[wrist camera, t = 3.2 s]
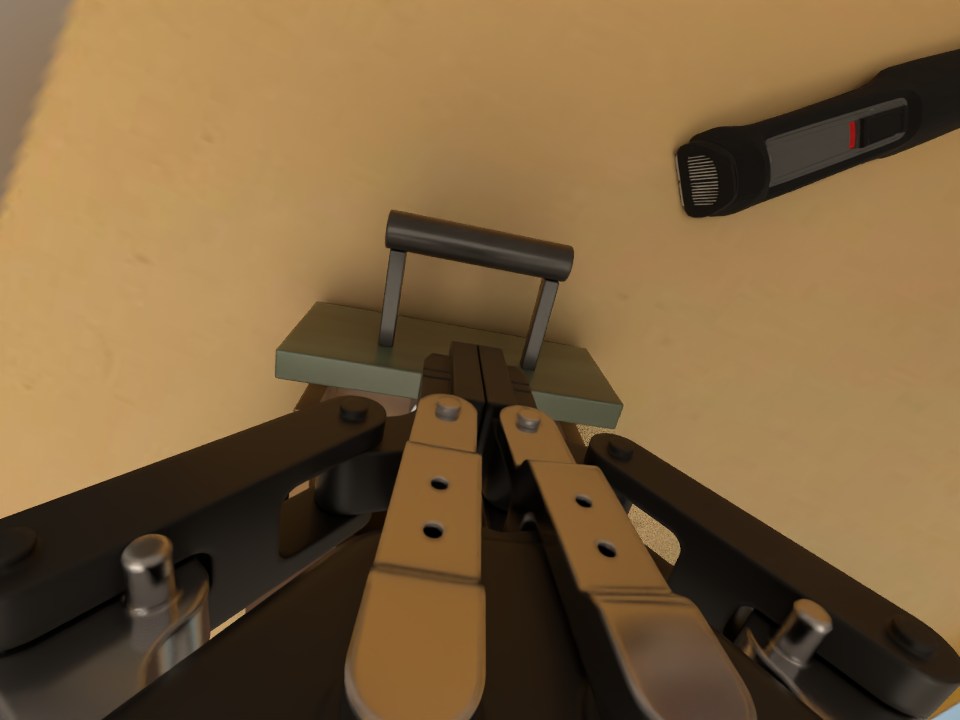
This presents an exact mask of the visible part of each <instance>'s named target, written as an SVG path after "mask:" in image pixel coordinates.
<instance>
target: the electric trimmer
mask: <svg viewBox="0 0 960 720" xmlns="http://www.w3.org/2000/svg"><path fill="white" fill-rule="evenodd" d="M958 128H960V49H958V50H954V51H949V52H945V53H941V54H937V55H933V56H929V57H925V58H921V59H917V60H913V61H910V62H906V63H903V64H899V65H896V66H892V67H889V68H887V69H884V70H882V71H881V72H880V73H879V74H878V75H877V76H876V77H875V78H874V79H873V80H872V81H871V82H870V83H868V84H866V85H865V86H863V87H861V88H859V89H856V90H853V91H850V92H848V93H845V94H842V95H839V96H836V97H833V98H830V99H827V100H824V101H822V102H819V103H816V104H813V105H810V106H807V107H804V108H801V109H798V110H795V111H793V112H790V113H787V114H783V115H780V116H777V117H774V118H770V119H767V120H764V121H761V122H757V123H754V124H750V125H745V126H724V127H717V128H713V129H710V130H708V131H705V132H702V133H700V134H697V135H695V136H694V137H693V138H692V139H691V140H690V142H689V143H688V144H686V145H683V146H681V147H680V148H679V149H678V151H677V154H675V155H677V156H676V157H675V158H676V159H675V160H676V162H675V163H677V164H676V166H677V169H676V170H678V171H677V173H678V174H677V175H678V178H679V179H678V180H679V181H680V183H679V186H680V187H679V188H680V190H679V191H680V194H681V195H680V196H681V197H682V198H680V199H682V201H681V202H682V206H684V208H685V211H686V213H687V214H688V215H689V216H691V217H694V218H698V217H706V216H725V215H730V214H734V213H737V212H739V211H742V210H744V209H746V208H749V207H751V206H753V205H756V204H759V203H761V202H764V201H767V200H769V199H772V198H775V197H778V196H780V195H783V194H786V193H788V192H791V191H794V190H796V189H799V188H801V187H804V186H806V185H809V184H811V183H814V182H816V181H819V180H821V179H824V178H826V177H829V176H831V175H834V174H837V173H839V172H842V171H844V170H847V169H849V168H852V167H854V166H857V165H859V164H862V163H865V162H868V161H871V160H874V159H877V158H885V157H888V156H891V155H894V154H897V153H899V152H902V151H904V150H907V149H909V148H912V147H914V146H917V145H920V144H922V143H924V142H927V141H929V140H932V139H934V138H937V137H939V136H941V135H944V134H946V133H949V132H951V131H953V130H956V129H958Z"/></svg>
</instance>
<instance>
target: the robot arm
mask: <svg viewBox="0 0 960 720" xmlns="http://www.w3.org/2000/svg"><path fill="white" fill-rule="evenodd" d="M314 477H316V480H315V485H314V486H312V487H310V488H308V489H306V490H304V491H302V492H301V493H299V494H297V495H295V496H293V497H291V498H289V499H287V500H285V498H286V497H287V496H288V494H289V493H290V492H291V491H292V490H293V489H294V488H296V487H297V486H299V485H301V484H303V483H305V482H306V481H308V480H310V479H312V478H314ZM284 500H285V501H284ZM632 503H633V504H634V505H636V506H637V507H638V508H640V509H641V510H643V511H644V512H645V513H647V514H648V515H649V516H651V517H652V518H654V519H655V520H656V521H658V522H659V523H661V524H662V525H663V526H665V527H666V528H668V529H669V530H670V531H671V532H673V533H674V535H675V536H676V537H677V539H678V541H679V543H680V548H681V551H680V555H679V557H678V559H677V561H676V563H675V565H674V566H673V565H671V564H670V563H668V562H667V561H666V560H664V559H663V558H662V557H661V556H659V555H658V554H657V553H655V552H654V551H653V550H651V549H650V548H649V547H648V546H646V545H645V544H644V543H643V542H642V540H641V538H640V536H639V535H638V533H637V531H636V530H635V528H634V526H633V524H632V523H631V521H630V519H629V517H628V516H627V515H628V513H629V511H630V508H631V506H632ZM387 510H388V512H387V515H386V519H385V523H384V527H383V529H378V530H374V531H371V532H367V533H364V534H362V535H359V536H357V537H354V538H352V539H350V540H348V541H346V542H344V543H343V544H341V545H339V546H337V545H338V544H340V543H341V542H342V541H344V540H345V539H347V538H348V537H350V536H351V535H353V534H354V533H356V532H357V531H359V530H360V529H362V528H363V527H364V526H365V525H366V524H367V523H368V522H369V521H370V519H371V516H372V512H379V511H387ZM335 546H337V547H336V548H334V547H335ZM332 548H334V549H333V550H332V551H330V552H329V553H327V554H326V555H325V556H323V557H322V558H321V559H319V560H318V561H317V562H315V563H314V564H313V565H311V566H310V567H308V568H307V569H306V570H304V571H303V572H302V573H300V574H299V575H298V576H296V577H295V578H293V579H292V580H291V581H289V582H288V583H287V584H285V585H284V586H283V587H281V588H280V589H278V590H277V591H276V592H274V593H273V594H272V595H270V596H269V597H268V598H266V599H265V600H263V601H262V602H261V603H259V604H258V605H257V606H255V607H254V608H253V609H251V610H250V611H248V612H247V613H246V614H244V615H243V616H242V617H240V618H239V619H238V620H236V621H235V622H233V623H232V624H231V625H229V626H228V627H227V628H225V629H224V630H223V631H221V632H220V633H218V634H217V635H216V636H214V637H213V638H212V639H210V640H209V638H210V631H212V630H213V629H215V628H216V627H218V626H219V625H221V624H222V623H224V622H225V621H227V620H228V619H229V618H231V617H232V616H234V615H235V614H237V613H238V612H240V611H241V610H243V609H244V608H246V607H247V606H249V605H250V604H251V603H253V602H254V601H256V600H257V599H259V598H260V597H262V596H263V595H265V594H266V593H268V592H269V591H271V590H272V589H274V588H275V587H276V586H278V585H279V584H281V583H282V582H284V581H285V580H287V579H288V578H290V577H291V576H293V575H294V574H296V573H297V572H298V571H300V570H301V569H303V568H304V567H306V566H307V565H309V564H310V563H312V562H313V561H315V560H316V559H318V558H319V557H320V556H322V555H323V554H325V553H326V552H328V551H329V550H331V549H332ZM750 607H752V608H754V609H753V611H752V609H751V608H750ZM959 686H960V657H959V656H958V654H957V653H956V652H955V650H954V649H953V648H952V647H951V646H950V645H949V644H948V643H947V642H946V641H945V640H944V639H943V638H942V637H941V636H940V635H939V634H938V633H936V632H935V631H934V630H933V629H932V628H930V627H929V626H927V625H926V624H925V623H923V622H922V621H920V620H919V619H917V618H916V617H914V616H913V615H911V614H909V613H908V612H906V611H905V610H903V609H901V608H900V607H898V606H897V605H895V604H893V603H892V602H890V601H889V600H887V599H885V598H884V597H882V596H881V595H879V594H877V593H876V592H874V591H872V590H871V589H869V588H868V587H866V586H864V585H863V584H861V583H860V582H858V581H856V580H855V579H853V578H852V577H850V576H848V575H847V574H845V573H844V572H842V571H840V570H839V569H837V568H835V567H834V566H832V565H831V564H829V563H827V562H826V561H824V560H823V559H821V558H819V557H818V556H816V555H815V554H813V553H811V552H810V551H808V550H807V549H805V548H803V547H802V546H800V545H798V544H797V543H795V542H794V541H792V540H790V539H789V538H787V537H786V536H784V535H782V534H781V533H779V532H778V531H776V530H774V529H773V528H771V527H770V526H768V525H766V524H765V523H763V522H762V521H760V520H758V519H757V518H755V517H753V516H752V515H750V514H749V513H747V512H745V511H744V510H742V509H741V508H739V507H737V506H736V505H734V504H733V503H731V502H729V501H728V500H726V499H725V498H723V497H721V496H720V495H718V494H716V493H715V492H713V491H712V490H710V489H708V488H707V487H705V486H704V485H702V484H700V483H699V482H697V481H696V480H694V479H692V478H691V477H689V476H688V475H686V474H684V473H683V472H681V471H680V470H678V469H676V468H675V467H673V466H671V465H670V464H668V463H667V462H665V461H663V460H662V459H660V458H659V457H657V456H655V455H654V454H652V453H651V452H649V451H647V450H646V449H644V448H643V447H641V446H639V445H638V444H636V443H634V442H633V441H631V440H629V439H627V438H624V437H622V436H618V435H615V434H609V433H600V434H596V435H594V436H593V437H592V438H591V440H590V443H589V446H588V447H586V446H583V445H580V444H577V443H574V442H571V441H568V440H565V439H563V437H562V435H561V433H560V431H559V429H558V427H557V425H556V423H555V422H554V420H553V419H552V418H551V417H550V416H548V415H547V414H545V413H544V412H542V411H540V410H538V409H537V406H536V403H535V400H534V397H533V394H532V391H531V388H530V386H529V382H528V380H527V377H526V375H525V374H524V373H523V372H522V371H521V370H520V369H519V368H518V367H516V366H510V365H506V361H505V357H504V354H503V350H502V348H497V347H491V346H485V345H479V344H478V345H476V344H473V343H467V342H461V341H455V340H452V341H451V345H450V349H449V354H448V355H442V354H436V353H432V354H430V355H429V356H428V357H427V358H425V359H424V364H423V370H422V375H421V381H420V387H419V392H418V398H417V404H416V410H414V411H413V412H410V413H408V414H405V415H400V416H388V417H386V410H385V409H384V407H383V406H382V405H381V404H379V403H378V402H376V401H374V400H372V399H369V398H366V397H361V396H353V395H347V396H339V397H334V398H331V399H328V400H326V401H323V402H320V403H318V404H315V405H312V406H309V407H307V408H304V409H301V410H298V411H296V412H293V413H290V414H287V415H285V416H282V417H279V418H276V419H274V420H271V421H268V422H265V423H263V424H260V425H257V426H254V427H252V428H249V429H246V430H243V431H241V432H238V433H235V434H232V435H230V436H227V437H224V438H221V439H219V440H216V441H213V442H211V443H208V444H205V445H202V446H200V447H197V448H194V449H191V450H189V451H186V452H183V453H180V454H178V455H175V456H172V457H169V458H167V459H164V460H161V461H158V462H156V463H153V464H150V465H147V466H145V467H142V468H139V469H136V470H134V471H131V472H128V473H125V474H123V475H120V476H117V477H114V478H112V479H109V480H106V481H103V482H101V483H98V484H95V485H93V486H90V487H87V488H84V489H82V490H79V491H76V492H73V493H71V494H68V495H65V496H62V497H60V498H57V499H54V500H51V501H49V502H46V503H43V504H40V505H38V506H35V507H32V508H29V509H27V510H24V511H21V512H18V513H16V514H13V515H10V516H7V517H5V518H2V519H0V720H927V719H928V718H929V717H930V716H931V714H933V713H934V712H935V711H936V710H937V709H938V708H939V707H940V706H941V704H942V703H943V702H944V701H945V700H946V699H947V698H948V697H949V696H950V695H951V694H952V693H953V692H954V691H955V690H956V689H957V688H958V687H959Z"/></svg>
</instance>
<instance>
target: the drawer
mask: <svg viewBox="0 0 960 720" xmlns="http://www.w3.org/2000/svg"><path fill="white" fill-rule="evenodd" d="M385 246H386V248H390V249H391V250H390V255H389V263H388V270H387V278H386V286H385V293H384V301H383V309H382V313H380V312H374V311H368V310H363V309H357V308H351V307H346V306H340V305H334V304H328V303H323V302H316V303H315V304H314V305H313V307H312V308H311V309H310V310H309V311H308V313H307V314H306V315H305V316H304V317H303V318H302V320H301V321H300V322H299V323H298V324H297V326H296V327H295V328H294V329H293V330H292V332H291V333H290V334H289V335H288V336H287V338H286V339H285V340H284V341H283V342H282V343H281V345H280V346H279V347H278V348H277V350H276V360H275V378H279V379H285V380H292V381H298V382H305V383H309V385H308V386H307V388H306V390H305V391H304V393H303V395H302V397H301V398H300V400H299V402H298V403H297V405H296V407H295V408H294V412H296V411H298V410H301V409H304V408H307V407H309V406H312V405H315V404H318V403H320V402H323V401H326V400H328V399H331V398H334V397H339V396H347V395H353V396H361V397H366V398H369V399H372V400H374V401H376V402H378V403H379V404H381V405H382V406H383V407H384V409H385V410H386V417H388V416H400V415H405V414H408V413H409V409H410V402H411V399H417V398H418V392H419V387H420V381H421V375H422V370H423V364H424V359H425V358H427V357H428V356H429V355H430V354H432V353H436V354H442V355H448V354H449V349H450V345H451V341H452V340H455V341H461V342H467V343H473V344H476V345H478V344H479V345H485V346H491V347H497V348H502V350H503V354H504V357H505V361H506V365H510V366H516V367H518V368H519V369H520V370H521V371H522V372H523V373H524V374H525V375H526V377H527V380H528V382H529V386H530V388H531V391H532V394H533V397H534V400H535V403H536V406H537V409H538V410H540V411H542V412H544V413H545V414H547V415H548V416H550V417H551V418H552V419H553V420H554V422H555V423H556V425H557V427H558V429H559V431H560V433H561V435H562V437H563V439H565V440H568V441H571V442H574V443H577V444H580V445H583V446H585V444H584V442H583V440H582V437H581V435H580V433H579V431H578V428H577V426H576V424H582V425H589V426H595V427H602V428H608V429H615V427H616V425H617V422H618V419H619V417H620V414H621V411H622V409H623V403H622V402H621V400H620V399H619V397H618V396H617V394H616V393H615V391H614V390H613V388H612V387H611V385H610V384H609V382H608V381H607V379H606V378H605V376H604V375H603V373H602V372H601V370H600V369H599V367H598V366H597V364H596V363H595V361H594V360H593V358H592V357H591V355H590V354H589V352H588V351H587V349H586V348H580V347H575V346H569V345H563V344H557V343H552V342H546V341H543V339H544V336H545V332H546V329H547V325H548V321H549V318H550V314H551V311H552V307H553V304H554V300H555V296H556V293H557V289H558V286H559V282H558V281H560V282H564V281H566V280H567V278H568V276H569V274H570V272H571V269H572V265H573V259H574V250H573V247H571V246H569V245H564V244H559V243H554V242H549V241H544V240H539V239H534V238H529V237H525V236H520V235H515V234H510V233H505V232H500V231H495V230H490V229H485V228H481V227H476V226H471V225H466V224H461V223H456V222H451V221H446V220H441V219H437V218H432V217H427V216H422V215H417V214H412V213H407V212H402V211H397V210H391V211H390V213H389V216H388V221H387V227H386V235H385ZM407 252H410V253H416V254H421V255H426V256H431V257H436V258H442V259H447V260H452V261H457V262H462V263H467V264H473V265H478V266H483V267H488V268H493V269H498V270H504V271H509V272H514V273H519V274H524V275H529V276H535V277H540V278H542V281H541V284H540V288H539V292H538V296H537V300H536V303H535V307H534V311H533V315H532V318H531V322H530V326H529V330H528V334H527V337H526V338H523V337H517V336H512V335H506V334H500V333H494V332H489V331H483V330H477V329H471V328H466V327H460V326H454V325H449V324H443V323H437V322H431V321H426V320H420V319H414V318H409V317H403V316H398V311H399V304H400V297H401V290H402V284H403V277H404V270H405V263H406V256H407ZM315 480H316V477H314V478H312V479H310V480H308V481H306V482H305V483H303V484H301V485H299V486H297V487H296V488H294V489H293V490H292V491H291V492H290V493H289V498H291V497H293V496H295V495H297V494H299V493H301V492H302V491H304V490H306V489H308V488H310V487H312V486H314V485H315ZM387 512H388V510H387V511H379V512H372V516H371V519H370V521H369V522H368V523H367V524H366V525H365V526H364V527H363V528H362V529H360V530H359V531H357V532H356V533H354V534H353V535H356V536H359V535H362V534H364V533H367V532H371V531H374V530H378V529H383V527H384V523H385V519H386V515H387Z"/></svg>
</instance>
